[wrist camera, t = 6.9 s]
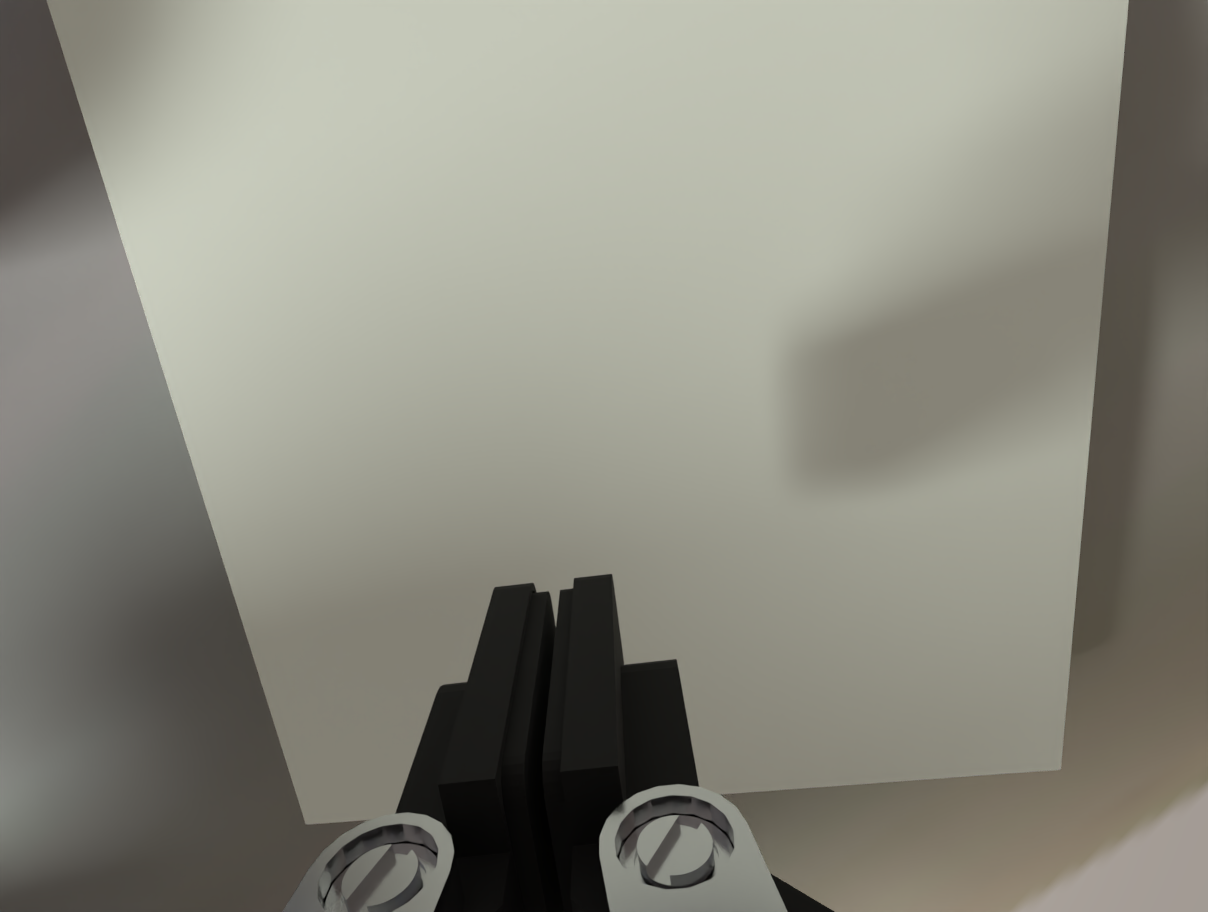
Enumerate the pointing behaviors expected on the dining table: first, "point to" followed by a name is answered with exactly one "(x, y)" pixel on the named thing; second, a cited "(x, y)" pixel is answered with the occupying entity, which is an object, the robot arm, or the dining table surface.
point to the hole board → (631, 351)
